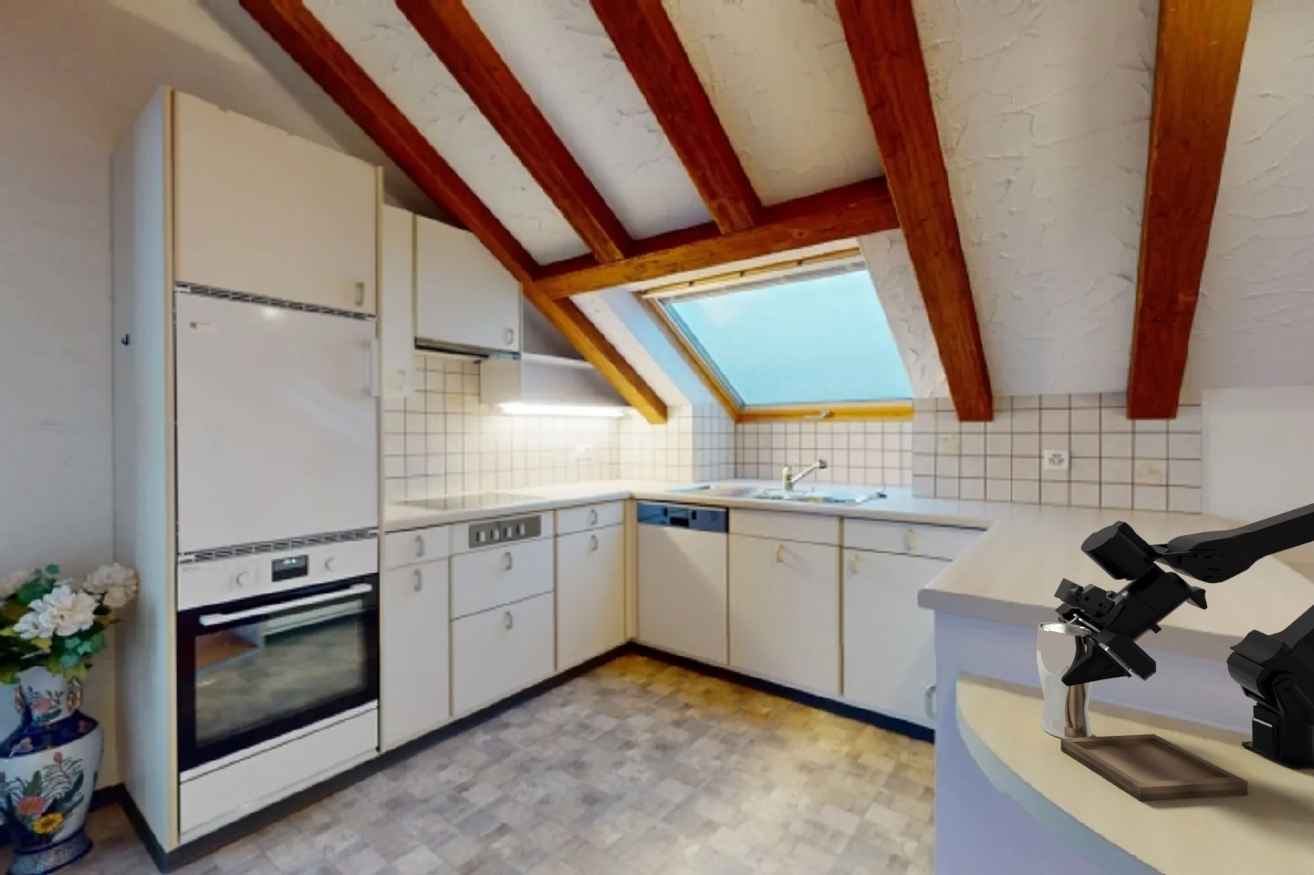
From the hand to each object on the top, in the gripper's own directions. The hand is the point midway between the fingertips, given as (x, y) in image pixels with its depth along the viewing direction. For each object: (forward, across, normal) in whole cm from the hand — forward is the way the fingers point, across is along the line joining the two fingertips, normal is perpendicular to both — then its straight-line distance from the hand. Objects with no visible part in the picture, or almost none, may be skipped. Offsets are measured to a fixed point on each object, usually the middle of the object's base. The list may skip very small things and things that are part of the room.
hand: (1054, 674), depth 88 cm
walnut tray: (+1, +10, +11) cm, 14 cm away
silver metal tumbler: (+5, 0, +7) cm, 8 cm away
